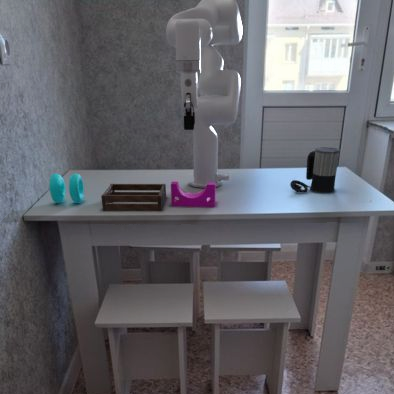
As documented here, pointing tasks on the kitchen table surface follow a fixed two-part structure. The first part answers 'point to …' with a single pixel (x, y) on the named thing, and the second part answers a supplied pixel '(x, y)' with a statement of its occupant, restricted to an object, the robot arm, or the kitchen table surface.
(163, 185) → the crate
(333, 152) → the milk frother
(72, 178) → the donuts
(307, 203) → the kitchen table surface
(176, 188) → the magenta cradle bracket
